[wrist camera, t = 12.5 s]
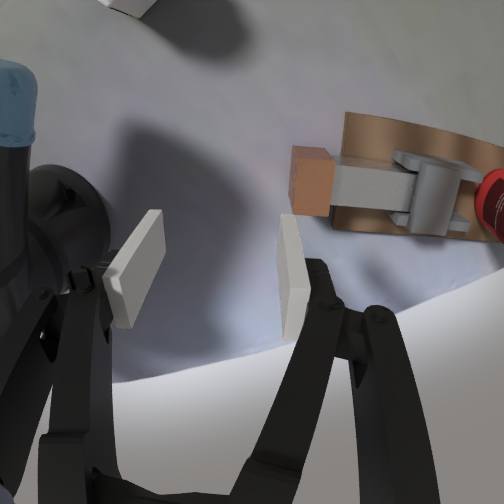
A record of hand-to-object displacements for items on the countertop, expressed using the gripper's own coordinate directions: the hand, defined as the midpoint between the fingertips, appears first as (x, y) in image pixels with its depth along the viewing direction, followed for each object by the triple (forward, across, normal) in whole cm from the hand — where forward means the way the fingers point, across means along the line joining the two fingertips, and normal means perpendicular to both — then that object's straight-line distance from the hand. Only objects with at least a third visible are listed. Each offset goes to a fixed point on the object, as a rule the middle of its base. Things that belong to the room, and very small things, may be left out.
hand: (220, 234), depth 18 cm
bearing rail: (+15, +23, 0) cm, 27 cm away
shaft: (+13, +12, 0) cm, 18 cm away
